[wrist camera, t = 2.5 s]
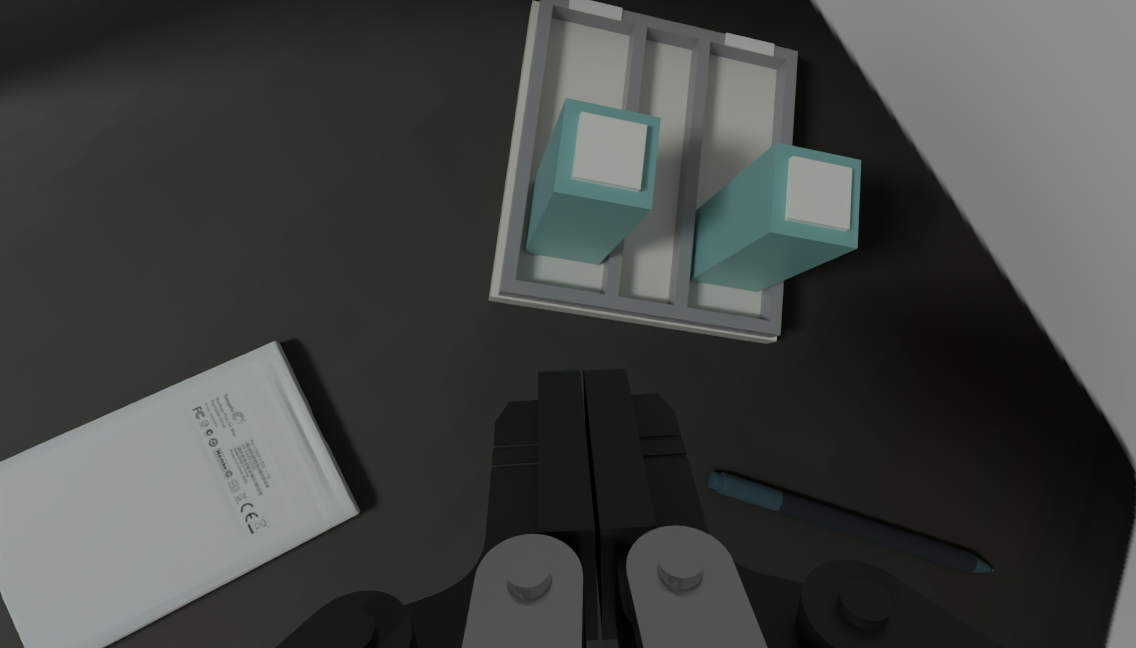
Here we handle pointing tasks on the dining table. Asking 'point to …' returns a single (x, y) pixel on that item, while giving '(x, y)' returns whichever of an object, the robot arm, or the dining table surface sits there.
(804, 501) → the pen
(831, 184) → the tab
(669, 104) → the switch board
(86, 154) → the dining table surface
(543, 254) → the tab
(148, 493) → the external hard drive
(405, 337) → the dining table surface
